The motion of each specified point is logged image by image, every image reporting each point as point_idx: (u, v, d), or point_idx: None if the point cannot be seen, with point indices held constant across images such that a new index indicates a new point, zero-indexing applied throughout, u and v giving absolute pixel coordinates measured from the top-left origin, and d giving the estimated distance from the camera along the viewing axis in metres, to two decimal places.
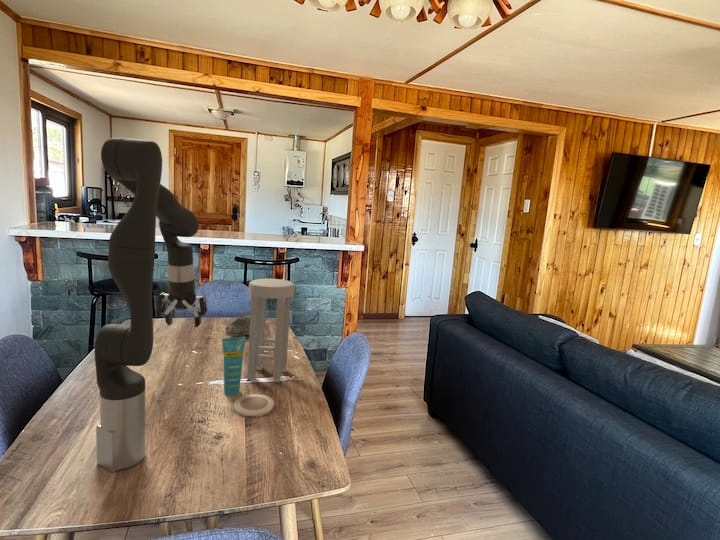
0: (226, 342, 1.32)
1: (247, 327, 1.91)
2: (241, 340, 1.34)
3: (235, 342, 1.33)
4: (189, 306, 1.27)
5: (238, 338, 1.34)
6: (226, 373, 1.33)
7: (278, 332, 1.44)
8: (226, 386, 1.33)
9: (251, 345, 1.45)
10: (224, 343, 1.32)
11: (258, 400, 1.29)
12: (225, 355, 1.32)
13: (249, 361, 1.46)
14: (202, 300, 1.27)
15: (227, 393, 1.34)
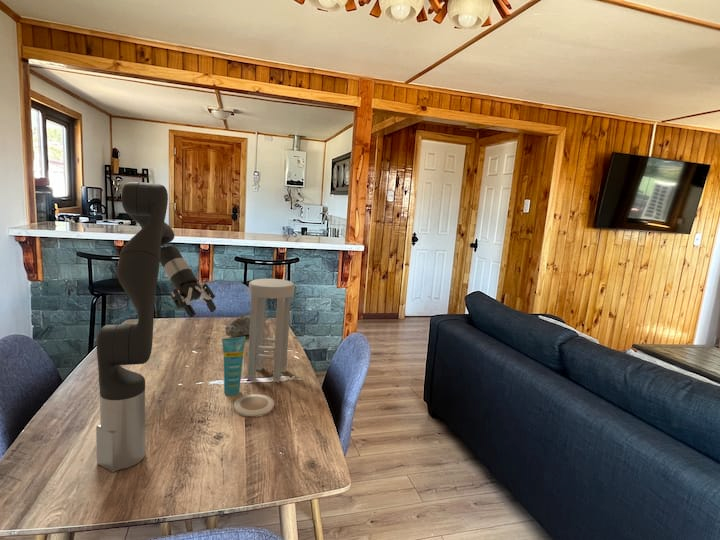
0: (226, 342, 1.32)
1: (247, 327, 1.91)
2: (241, 340, 1.34)
3: (235, 342, 1.33)
4: (202, 291, 1.39)
5: (238, 338, 1.34)
6: (226, 373, 1.33)
7: (278, 332, 1.44)
8: (226, 386, 1.33)
9: (251, 345, 1.45)
10: (224, 343, 1.32)
11: (258, 400, 1.29)
12: (225, 355, 1.32)
13: (249, 361, 1.46)
14: (207, 285, 1.44)
15: (227, 393, 1.34)
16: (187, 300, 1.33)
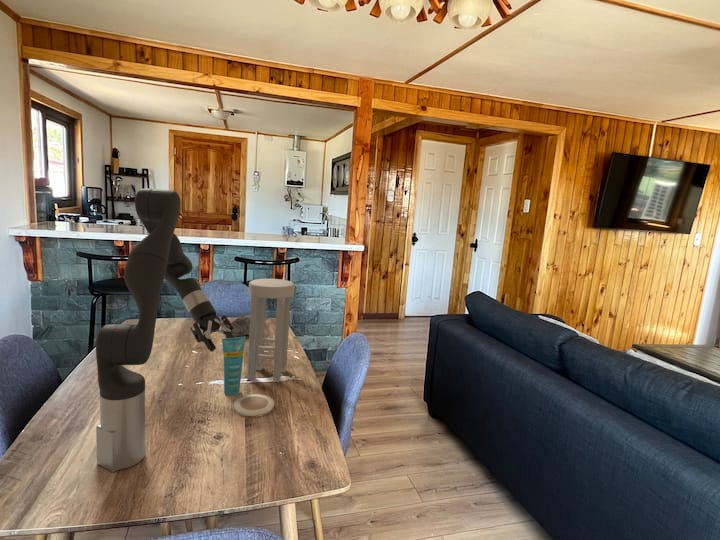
0: (226, 342, 1.32)
1: (247, 327, 1.91)
2: (241, 340, 1.34)
3: (235, 342, 1.33)
4: (221, 323, 1.39)
5: (238, 338, 1.34)
6: (226, 373, 1.33)
7: (278, 332, 1.44)
8: (226, 386, 1.33)
9: (251, 345, 1.45)
10: (224, 343, 1.32)
11: (258, 400, 1.29)
12: (225, 355, 1.32)
13: (249, 361, 1.46)
14: (225, 317, 1.43)
15: (227, 393, 1.34)
16: (207, 334, 1.32)
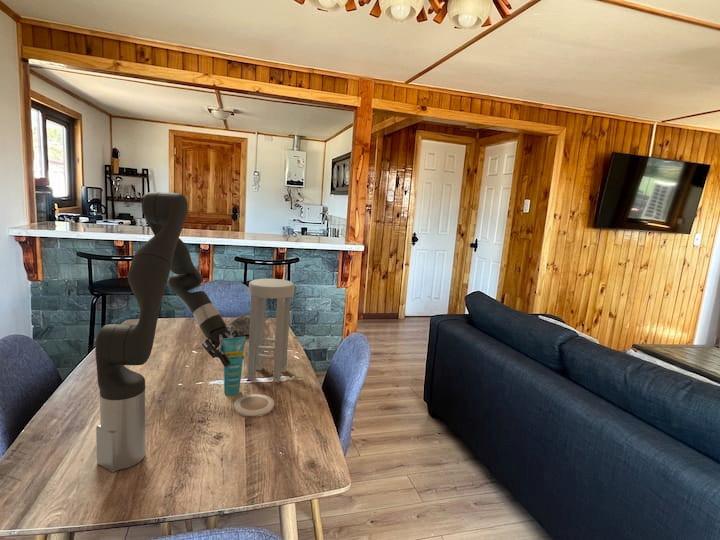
0: (226, 342, 1.32)
1: (247, 327, 1.91)
2: (241, 340, 1.34)
3: (235, 342, 1.33)
4: None
5: (238, 338, 1.34)
6: (226, 373, 1.33)
7: (278, 332, 1.44)
8: (226, 386, 1.33)
9: (251, 345, 1.45)
10: (224, 343, 1.32)
11: (258, 400, 1.29)
12: None
13: (249, 361, 1.46)
14: (236, 332, 1.41)
15: (227, 393, 1.34)
16: (221, 349, 1.32)
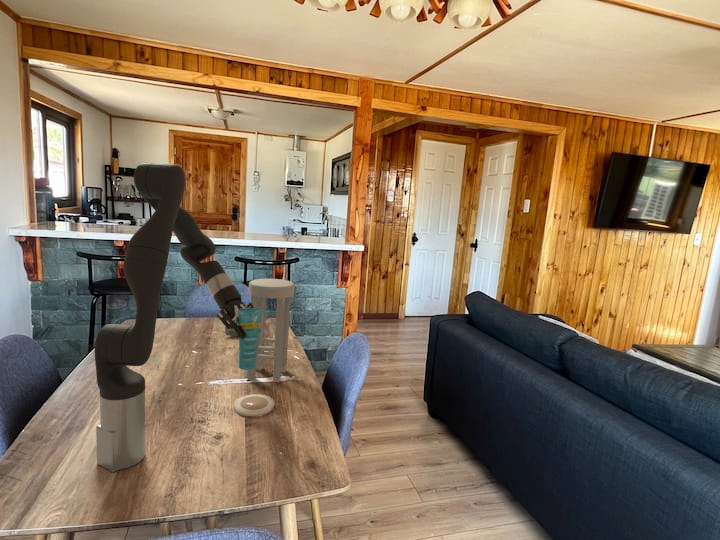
0: (242, 313, 1.24)
1: None
2: (258, 311, 1.27)
3: (251, 313, 1.26)
4: None
5: (254, 309, 1.26)
6: (241, 346, 1.25)
7: (278, 332, 1.44)
8: (241, 360, 1.26)
9: None
10: (240, 314, 1.24)
11: (258, 400, 1.29)
12: None
13: None
14: (252, 305, 1.34)
15: (242, 367, 1.26)
16: (237, 320, 1.24)
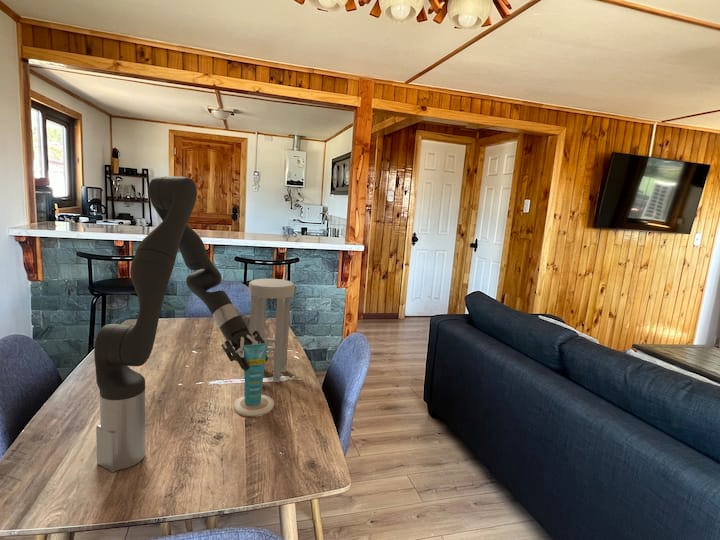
0: (247, 349, 1.24)
1: None
2: (263, 347, 1.26)
3: (256, 349, 1.25)
4: (253, 339, 1.29)
5: (260, 345, 1.25)
6: (247, 382, 1.25)
7: (278, 332, 1.44)
8: (247, 396, 1.25)
9: None
10: (245, 350, 1.23)
11: None
12: None
13: None
14: (257, 332, 1.33)
15: (248, 403, 1.25)
16: (240, 352, 1.23)
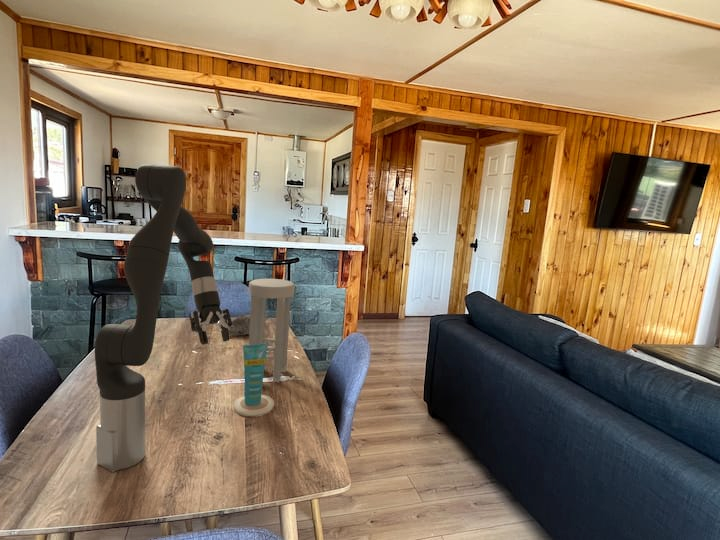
0: (247, 349, 1.24)
1: (246, 327, 1.92)
2: (263, 347, 1.26)
3: (256, 349, 1.25)
4: (221, 317, 1.32)
5: (260, 345, 1.25)
6: (247, 382, 1.25)
7: (278, 332, 1.44)
8: (247, 396, 1.25)
9: None
10: (245, 350, 1.23)
11: None
12: (246, 363, 1.24)
13: None
14: (228, 311, 1.36)
15: (248, 403, 1.25)
16: (204, 325, 1.26)
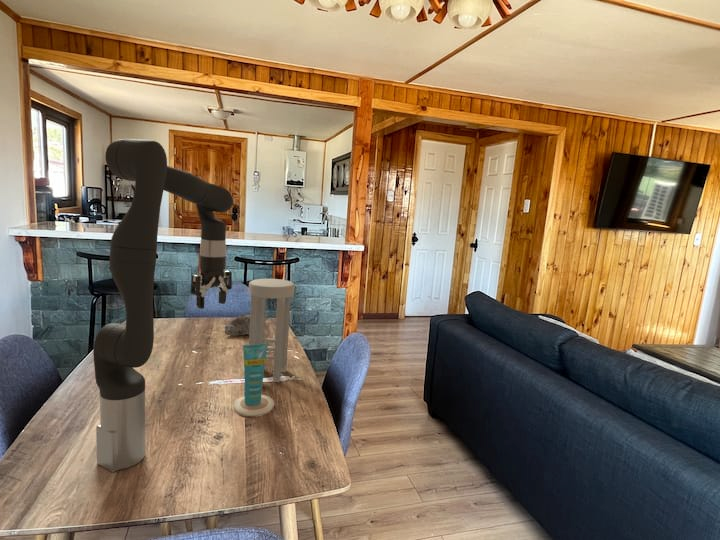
0: (247, 349, 1.24)
1: (246, 327, 1.92)
2: (263, 347, 1.26)
3: (256, 349, 1.25)
4: (223, 282, 1.28)
5: (260, 345, 1.25)
6: (247, 382, 1.25)
7: (278, 332, 1.44)
8: (247, 396, 1.25)
9: None
10: (245, 350, 1.23)
11: None
12: (246, 363, 1.24)
13: None
14: (231, 273, 1.32)
15: (248, 403, 1.25)
16: (204, 291, 1.23)
